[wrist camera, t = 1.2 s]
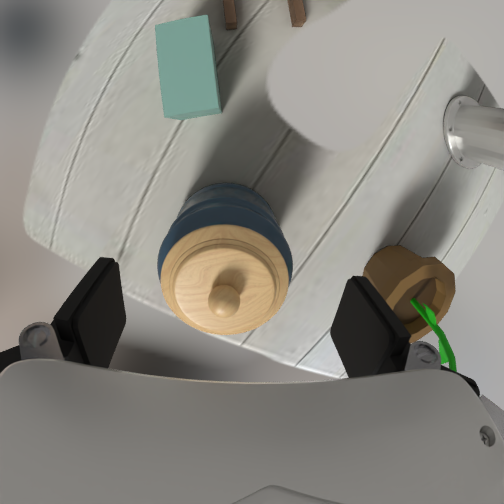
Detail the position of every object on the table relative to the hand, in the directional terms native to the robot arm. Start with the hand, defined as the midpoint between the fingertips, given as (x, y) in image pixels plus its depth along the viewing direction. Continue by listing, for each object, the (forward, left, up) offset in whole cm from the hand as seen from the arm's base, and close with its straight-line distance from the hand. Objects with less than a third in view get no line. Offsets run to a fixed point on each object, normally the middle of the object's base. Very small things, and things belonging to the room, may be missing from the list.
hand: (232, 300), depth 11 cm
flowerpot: (-23, +17, -26) cm, 39 cm away
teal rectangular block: (+3, -14, -26) cm, 29 cm away
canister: (+2, +6, -26) cm, 27 cm away
